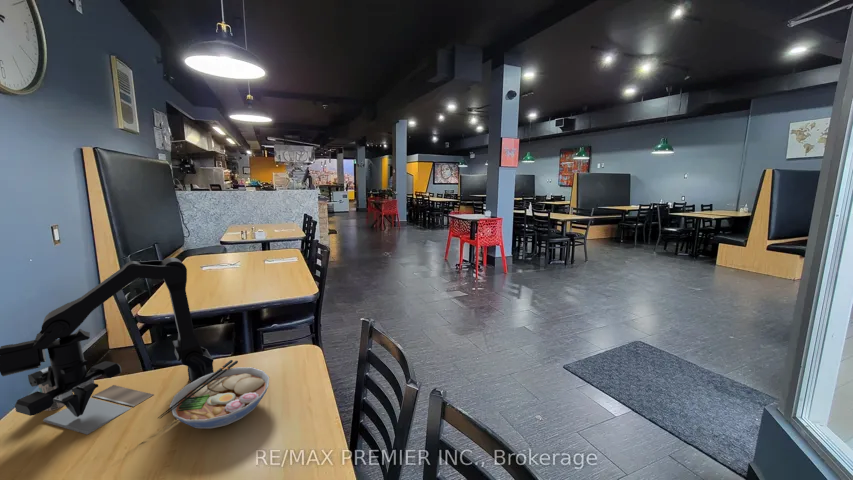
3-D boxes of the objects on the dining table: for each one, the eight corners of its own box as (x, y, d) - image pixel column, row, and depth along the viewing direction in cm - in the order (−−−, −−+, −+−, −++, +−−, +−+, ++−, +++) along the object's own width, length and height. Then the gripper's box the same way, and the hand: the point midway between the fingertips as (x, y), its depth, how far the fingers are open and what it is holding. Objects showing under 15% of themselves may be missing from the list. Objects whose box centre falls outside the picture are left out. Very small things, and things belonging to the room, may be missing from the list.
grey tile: (131, 412, 94) (131, 408, 94) (87, 436, 85) (87, 431, 85) (90, 401, 99) (89, 397, 99) (43, 423, 89) (43, 419, 89)
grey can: (74, 404, 98) (66, 365, 95) (55, 415, 93) (45, 375, 91) (59, 403, 98) (50, 364, 96) (39, 414, 94) (29, 373, 91)
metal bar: (154, 398, 100) (153, 394, 100) (133, 411, 95) (133, 406, 95) (114, 389, 104) (113, 384, 104) (92, 400, 99) (91, 396, 99)
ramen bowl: (227, 459, 79) (223, 427, 78) (145, 443, 84) (140, 413, 82) (290, 392, 103) (288, 367, 102) (224, 382, 108) (221, 358, 106)
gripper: (89, 338, 98) (98, 388, 101) (-8, 375, 80) (7, 434, 83) (118, 344, 95) (127, 395, 98) (24, 383, 77) (38, 444, 80)
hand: (78, 415), depth 90 cm, fingers closed
